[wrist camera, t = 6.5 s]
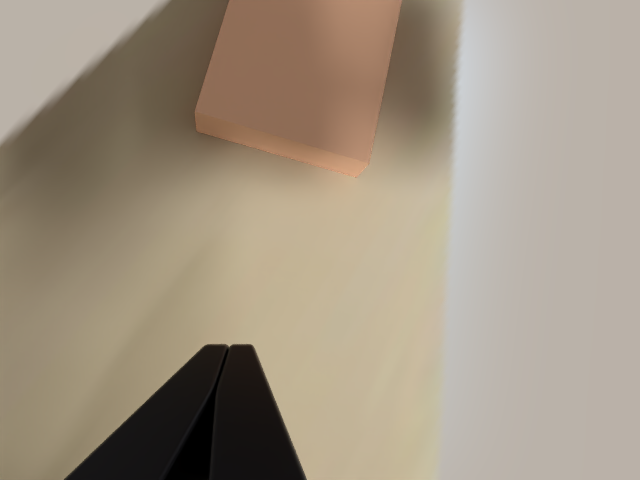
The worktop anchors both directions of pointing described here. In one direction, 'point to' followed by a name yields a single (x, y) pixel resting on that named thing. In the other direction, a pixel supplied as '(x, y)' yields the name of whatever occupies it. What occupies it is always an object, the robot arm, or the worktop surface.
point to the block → (300, 78)
